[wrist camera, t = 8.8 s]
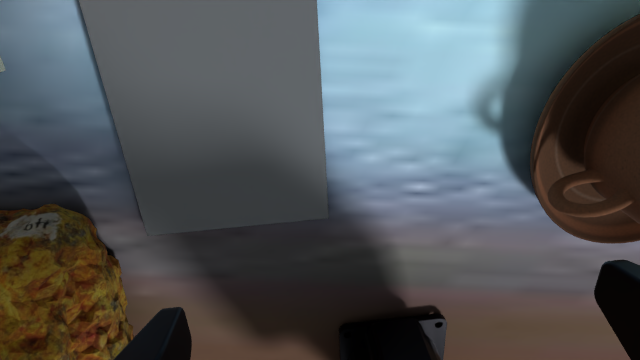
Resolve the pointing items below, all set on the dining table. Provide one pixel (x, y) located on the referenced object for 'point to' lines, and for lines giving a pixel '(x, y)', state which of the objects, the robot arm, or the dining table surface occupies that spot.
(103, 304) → the rock
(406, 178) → the dining table surface
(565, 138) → the cup and saucer
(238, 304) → the dining table surface
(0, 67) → the board
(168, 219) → the grey rectangular panel
